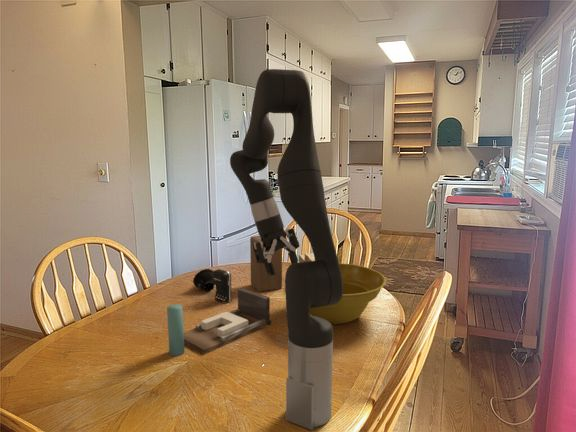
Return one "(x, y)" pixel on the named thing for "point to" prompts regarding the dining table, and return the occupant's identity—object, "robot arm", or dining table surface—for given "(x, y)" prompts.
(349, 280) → the planter bowl
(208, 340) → the rail base
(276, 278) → the block
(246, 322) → the carriage
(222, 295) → the battery charger
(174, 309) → the dowel
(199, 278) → the black flared cup shape
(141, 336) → the dining table surface
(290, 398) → the robot arm
